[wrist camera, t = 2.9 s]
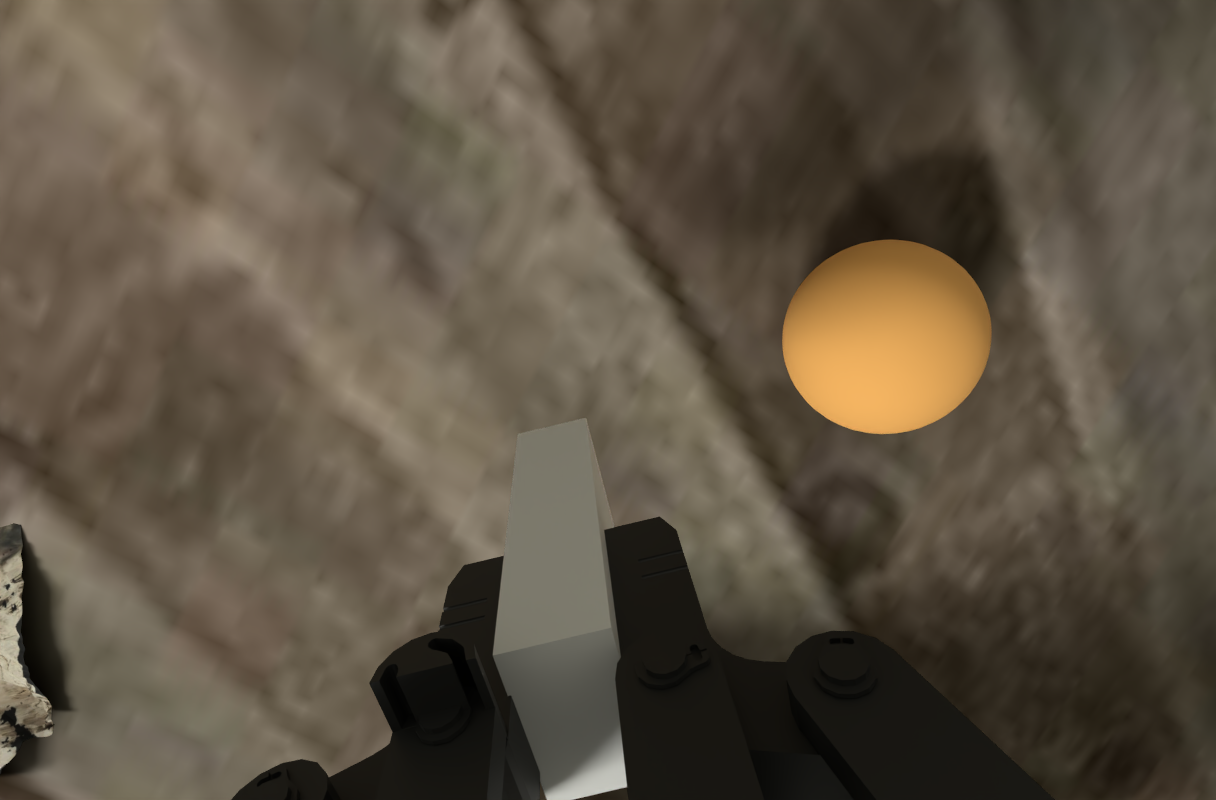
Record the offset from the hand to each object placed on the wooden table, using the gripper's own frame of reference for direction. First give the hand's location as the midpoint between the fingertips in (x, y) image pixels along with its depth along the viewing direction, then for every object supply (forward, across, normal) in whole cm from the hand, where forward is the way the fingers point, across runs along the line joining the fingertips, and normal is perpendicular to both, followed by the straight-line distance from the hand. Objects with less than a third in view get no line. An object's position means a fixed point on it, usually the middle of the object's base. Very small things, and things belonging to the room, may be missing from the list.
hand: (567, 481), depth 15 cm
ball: (+5, -9, 0) cm, 11 cm away
